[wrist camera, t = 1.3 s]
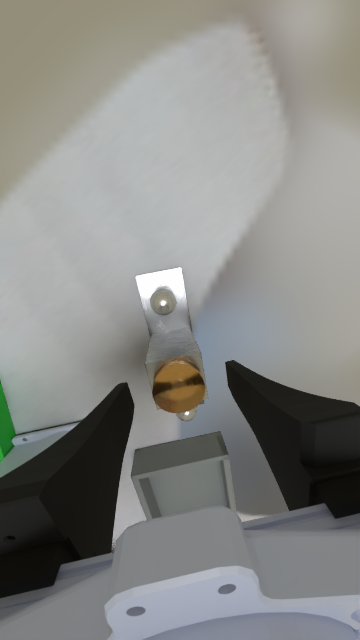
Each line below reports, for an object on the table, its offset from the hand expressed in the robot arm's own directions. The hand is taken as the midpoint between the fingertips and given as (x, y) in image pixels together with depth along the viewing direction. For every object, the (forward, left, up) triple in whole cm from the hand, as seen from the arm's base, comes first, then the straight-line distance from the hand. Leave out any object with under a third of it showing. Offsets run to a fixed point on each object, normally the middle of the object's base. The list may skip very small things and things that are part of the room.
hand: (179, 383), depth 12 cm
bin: (-2, -22, -7) cm, 23 cm away
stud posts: (0, 0, -7) cm, 7 cm away
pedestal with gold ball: (0, 0, -6) cm, 6 cm away
